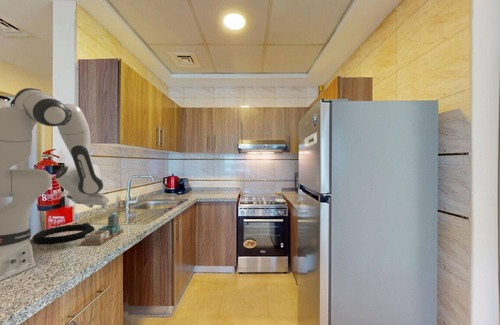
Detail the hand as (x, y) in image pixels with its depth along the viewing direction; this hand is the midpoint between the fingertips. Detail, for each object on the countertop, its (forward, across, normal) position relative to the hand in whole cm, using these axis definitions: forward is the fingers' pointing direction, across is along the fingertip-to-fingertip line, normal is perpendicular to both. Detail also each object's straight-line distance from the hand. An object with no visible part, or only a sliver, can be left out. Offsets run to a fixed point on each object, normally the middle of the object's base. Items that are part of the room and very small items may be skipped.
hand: (98, 207), depth 133 cm
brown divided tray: (+9, -7, +14) cm, 18 cm away
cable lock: (+9, +18, +14) cm, 25 cm away
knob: (+20, +2, +3) cm, 20 cm away
